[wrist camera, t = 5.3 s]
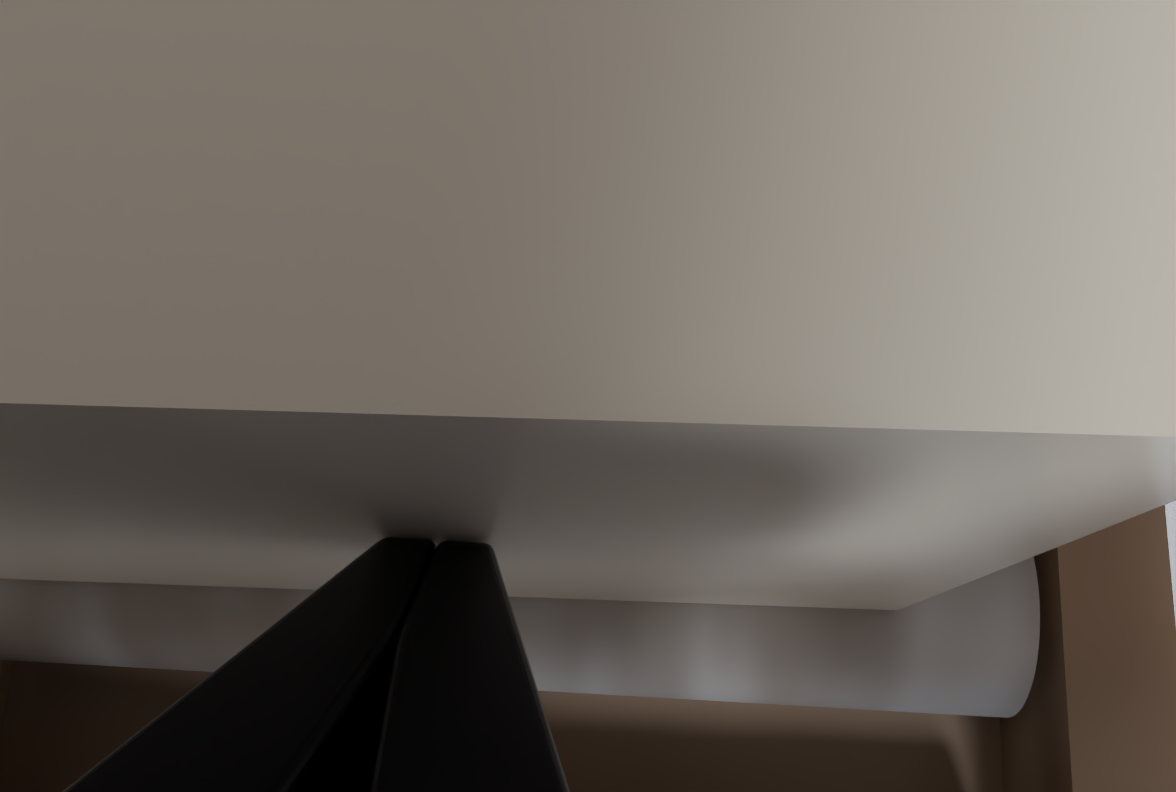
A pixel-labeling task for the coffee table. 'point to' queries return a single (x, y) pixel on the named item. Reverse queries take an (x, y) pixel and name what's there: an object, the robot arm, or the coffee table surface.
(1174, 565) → the coffee table surface
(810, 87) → the limestone slab
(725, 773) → the roller bed
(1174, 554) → the coffee table surface
